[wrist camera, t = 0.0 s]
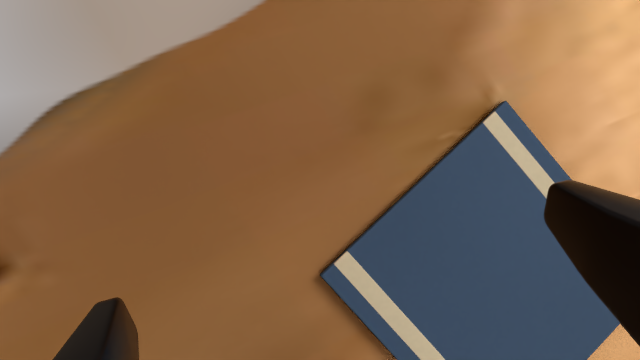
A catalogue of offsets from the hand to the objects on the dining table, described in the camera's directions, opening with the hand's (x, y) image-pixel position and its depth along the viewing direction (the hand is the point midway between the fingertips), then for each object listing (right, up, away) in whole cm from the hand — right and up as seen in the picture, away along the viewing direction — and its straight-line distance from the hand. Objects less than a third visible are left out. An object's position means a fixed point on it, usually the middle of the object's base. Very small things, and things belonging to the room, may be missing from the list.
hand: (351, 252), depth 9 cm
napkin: (+9, -4, +16) cm, 19 cm away
